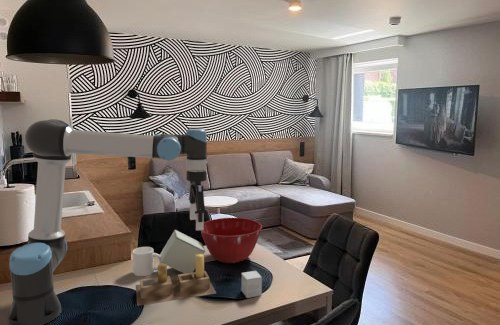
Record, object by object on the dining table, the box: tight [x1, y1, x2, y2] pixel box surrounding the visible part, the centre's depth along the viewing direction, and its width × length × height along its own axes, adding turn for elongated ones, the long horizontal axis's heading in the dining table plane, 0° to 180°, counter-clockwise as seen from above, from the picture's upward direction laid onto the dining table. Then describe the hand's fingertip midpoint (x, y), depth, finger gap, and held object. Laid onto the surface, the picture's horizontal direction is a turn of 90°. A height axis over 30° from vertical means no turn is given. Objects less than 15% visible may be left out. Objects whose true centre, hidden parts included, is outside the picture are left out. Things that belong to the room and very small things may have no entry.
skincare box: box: [241, 270, 263, 299], centre depth 139 cm, size 6×6×7 cm
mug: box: [132, 246, 163, 277], centre depth 154 cm, size 12×8×10 cm
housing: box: [159, 229, 206, 274], centre depth 156 cm, size 14×10×12 cm
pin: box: [195, 254, 205, 279], centre depth 142 cm, size 3×3×12 cm
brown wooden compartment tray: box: [135, 263, 217, 307], centre depth 139 cm, size 28×16×11 cm, turn 109°
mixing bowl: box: [200, 217, 263, 264], centre depth 172 cm, size 28×28×16 cm
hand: (196, 224), depth 143 cm, fingers open, 13 cm apart
